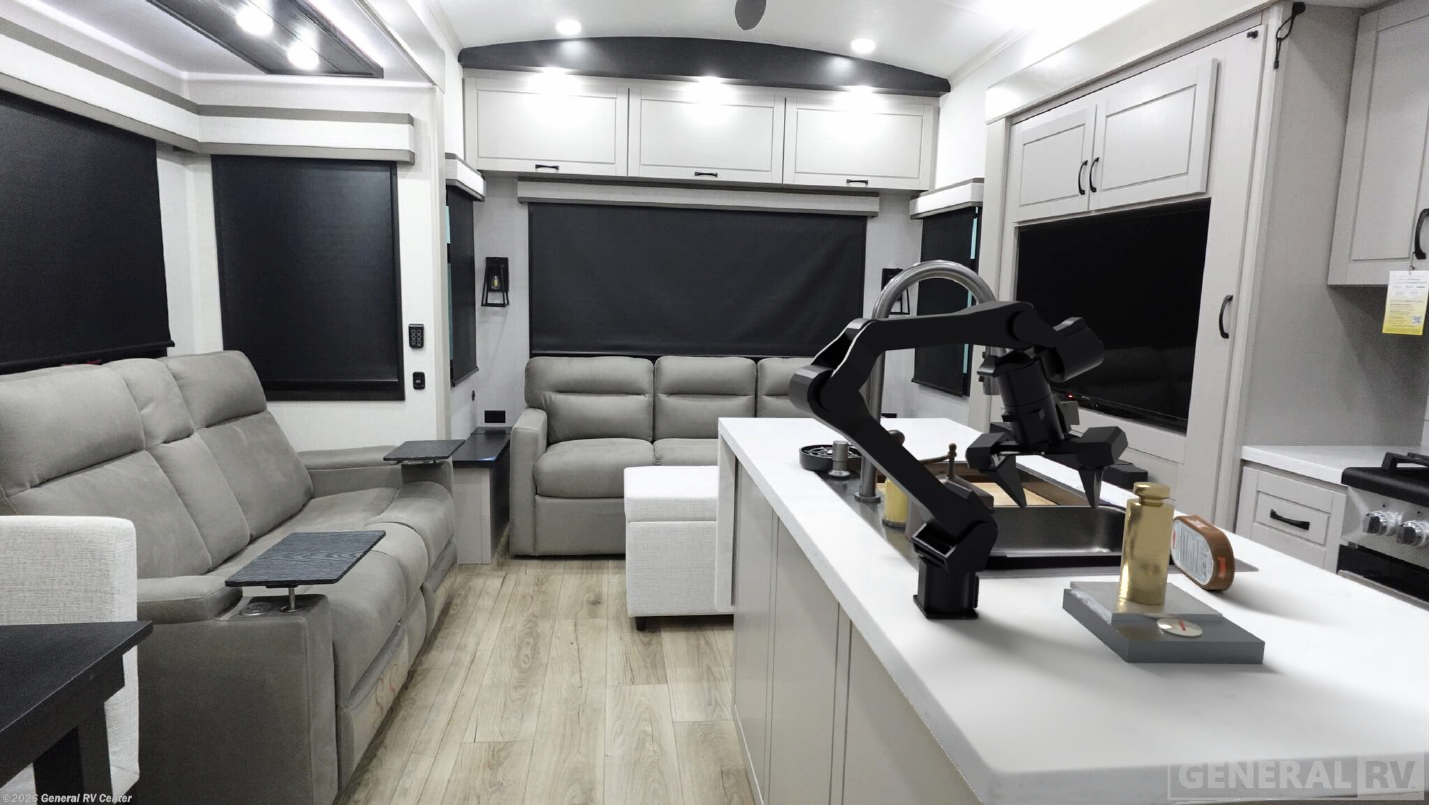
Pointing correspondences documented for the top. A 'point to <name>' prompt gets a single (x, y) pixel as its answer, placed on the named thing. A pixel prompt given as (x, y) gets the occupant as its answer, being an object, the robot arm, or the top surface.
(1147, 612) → the scale
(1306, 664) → the top surface
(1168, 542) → the weight
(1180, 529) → the tin
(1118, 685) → the top surface
